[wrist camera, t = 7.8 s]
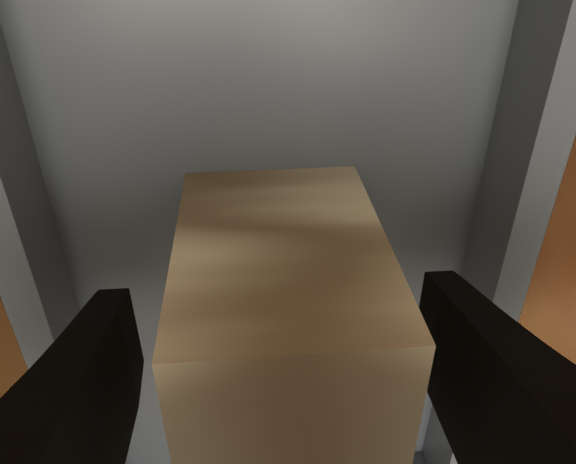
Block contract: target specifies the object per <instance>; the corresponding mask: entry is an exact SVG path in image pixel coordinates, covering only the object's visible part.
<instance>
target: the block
mask: <svg viewBox="0 0 576 464" xmlns="http://www.w3.org/2000/svg"><path fill="white" fill-rule="evenodd" d="M435 348H436V345H435V343H434V340H433V338H432V336H431V334H430V332H429V329H428V327H427V325H426V323H425V320H424V318H423V316H422V314H421V312H420V309H419V307H418V305H417V303H416V301H415V298H414V296H413V294H412V292H411V289H410V287H409V285H408V283H407V281H406V278H405V276H404V274H403V272H402V270H401V267H400V265H399V263H398V261H397V258H396V256H395V254H394V252H393V250H392V247H391V245H390V243H389V241H388V239H387V236H386V234H385V232H384V230H383V227H382V225H381V223H380V221H379V219H378V216H377V214H376V212H375V210H374V207H373V205H372V203H371V201H370V199H369V196H368V194H367V192H366V190H365V188H364V185H363V183H362V181H361V179H360V176H359V174H358V172H357V170H356V168H355V166H348V167H324V168H300V169H276V170H251V171H227V172H203V173H186V174H185V179H184V185H183V191H182V196H181V202H180V207H179V213H178V219H177V224H176V230H175V235H174V241H173V247H172V252H171V258H170V264H169V269H168V275H167V280H166V286H165V292H164V297H163V303H162V308H161V314H160V320H159V325H158V331H157V337H156V342H155V348H154V353H153V359H152V370H153V375H154V380H155V385H156V390H157V395H158V400H159V404H160V409H161V414H162V419H163V424H164V429H165V434H166V439H167V444H168V449H169V454H170V459H171V464H412V463H413V458H414V453H415V448H416V443H417V438H418V433H419V428H420V423H421V418H422V413H423V408H424V403H425V398H426V393H427V388H428V383H429V378H430V373H431V368H432V363H433V358H434V353H435Z"/></svg>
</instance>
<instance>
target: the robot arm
mask: <svg viewBox="0 0 576 464" xmlns="http://www.w3.org/2000/svg"><path fill="white" fill-rule="evenodd" d="M419 309H420V312H421V314H422V316H423V318H424V320H425V323H426V325H427V327H428V329H429V332H430V334H431V336H432V338H433V340H434V343H435V345H436V348H435V353H434V358H433V363H432V368H431V373H430V378H429V383H428V388H427V393H428V395H429V398H430V400H431V402H432V405H433V407H434V410H435V412H436V414H437V417H438V419H439V421H440V424H441V426H442V428H443V431H444V433H445V436H446V438H447V440H448V443H449V445H450V447H451V450H452V452H453V454H454V457H455V459H456V461H457V464H576V365H575V364H574V363H572V362H571V361H569V360H568V359H567V358H565V357H564V356H562V355H561V354H560V353H558V352H557V351H555V350H554V349H552V348H551V347H550V346H548V345H547V344H546V343H544V342H543V341H542V340H540V339H539V338H537V337H536V336H535V335H533V334H532V333H531V332H530V331H528V330H527V329H526V328H524V327H523V326H522V325H521V324H519V323H518V322H517V321H515V320H514V319H513V318H512V317H510V316H509V315H508V314H507V313H505V312H504V311H503V310H502V309H500V308H499V307H498V306H497V305H495V304H494V303H493V302H492V301H491V300H489V299H488V298H487V297H486V296H484V295H483V294H482V293H481V292H480V291H478V290H477V289H476V288H475V287H473V286H472V285H471V284H470V283H469V282H467V281H466V280H465V279H464V278H462V277H461V276H460V275H459V274H457V273H456V272H455V271H453V270H450V271H431V272H425V274H424V280H423V286H422V292H421V298H420V304H419ZM143 365H144V358H143V353H142V348H141V343H140V338H139V333H138V329H137V324H136V319H135V314H134V309H133V305H132V300H131V295H130V290H129V288H119V289H101V290H98V291H97V292H96V293H95V294H94V295H93V296H92V297H91V298H90V300H89V301H88V302H87V303H86V304H85V306H84V307H83V308H82V309H81V310H80V311H79V313H78V314H77V315H76V316H75V317H74V319H73V320H72V321H71V322H70V323H69V324H68V326H67V327H66V328H65V329H64V330H63V331H62V333H61V334H60V335H59V336H58V337H57V338H56V340H55V341H54V342H53V343H52V344H51V345H50V346H49V347H48V348H47V350H46V351H45V352H44V353H43V354H42V355H41V356H40V357H39V359H38V360H37V361H36V362H35V363H34V364H33V365H32V366H31V367H30V368H29V369H28V371H27V372H26V373H25V374H24V375H23V376H22V377H21V378H20V379H19V380H18V381H17V382H16V383H15V384H14V385H13V386H12V387H11V388H10V389H9V390H8V391H7V392H6V393H5V394H4V395H3V396H2V397H1V398H0V464H125V463H126V459H127V454H128V450H129V446H130V442H131V438H132V434H133V429H134V425H135V421H136V416H137V412H138V408H139V401H140V393H141V385H142V375H143Z"/></svg>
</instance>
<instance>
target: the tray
mask: <svg viewBox="0 0 576 464" xmlns="http://www.w3.org/2000/svg"><path fill="white" fill-rule="evenodd" d="M575 135H576V0H0V297H1V299H2V302H3V304H4V307H5V310H6V312H7V315H8V318H9V320H10V323H11V326H12V328H13V331H14V334H15V336H16V339H17V342H18V344H19V347H20V350H21V352H22V355H23V357H24V360H25V363H26V365H27V368H28V369H29V368H30V367H31V366H32V365H33V364H34V363H35V362H36V361H37V360H38V359H39V357H40V356H41V355H42V354H43V353H44V352H45V351H46V350H47V348H48V347H49V346H50V345H51V344H52V343H53V342H54V341H55V340H56V338H57V337H58V336H59V335H60V334H61V333H62V331H63V330H64V329H65V328H66V327H67V326H68V324H69V323H70V322H71V321H72V320H73V319H74V317H75V316H76V315H77V314H78V313H79V311H80V310H81V309H82V308H83V307H84V306H85V304H86V303H87V302H88V301H89V300H90V298H91V297H92V296H93V295H94V294H95V293H96V292H97V291H98V290H101V289H119V288H129V290H130V295H131V300H132V305H133V309H134V314H135V319H136V324H137V329H138V333H139V338H140V343H141V348H142V353H143V358H144V365H143V375H142V385H141V393H140V401H139V408H138V412H137V416H136V421H135V425H134V429H133V434H132V438H131V442H130V446H129V450H128V454H127V459H126V463H125V464H171V459H170V454H169V449H168V444H167V439H166V434H165V429H164V424H163V419H162V414H161V409H160V404H159V400H158V395H157V390H156V385H155V380H154V375H153V370H152V359H153V353H154V348H155V342H156V337H157V331H158V325H159V320H160V314H161V308H162V303H163V297H164V292H165V286H166V280H167V275H168V269H169V264H170V258H171V252H172V247H173V241H174V235H175V230H176V224H177V219H178V213H179V207H180V202H181V196H182V191H183V185H184V179H185V174H186V173H203V172H227V171H251V170H276V169H300V168H324V167H348V166H355V168H356V170H357V172H358V174H359V176H360V179H361V181H362V183H363V185H364V188H365V190H366V192H367V194H368V196H369V199H370V201H371V203H372V205H373V207H374V210H375V212H376V214H377V216H378V219H379V221H380V223H381V225H382V227H383V230H384V232H385V234H386V236H387V239H388V241H389V243H390V245H391V247H392V250H393V252H394V254H395V256H396V258H397V261H398V263H399V265H400V267H401V270H402V272H403V274H404V276H405V278H406V281H407V283H408V285H409V287H410V289H411V292H412V294H413V296H414V298H415V301H416V303H417V305H418V307H419V304H420V298H421V292H422V286H423V280H424V274H425V272H431V271H450V270H453V271H455V272H456V273H457V274H459V275H460V276H461V277H462V278H464V279H465V280H466V281H467V282H469V283H470V284H471V285H472V286H473V287H475V288H476V289H477V290H478V291H480V292H481V293H482V294H483V295H484V296H486V297H487V298H488V299H489V300H491V301H492V302H493V303H494V304H495V305H497V306H498V307H499V308H500V309H502V310H503V311H504V312H505V313H507V314H508V315H509V316H510V317H512V318H513V319H514V320H515V321H517V322H518V320H519V317H520V314H521V311H522V307H523V304H524V301H525V298H526V294H527V291H528V288H529V285H530V281H531V278H532V275H533V272H534V268H535V265H536V262H537V259H538V255H539V252H540V249H541V245H542V242H543V239H544V236H545V232H546V229H547V226H548V223H549V219H550V216H551V213H552V210H553V206H554V203H555V200H556V197H557V193H558V190H559V187H560V184H561V180H562V177H563V174H564V170H565V167H566V164H567V161H568V157H569V154H570V151H571V148H572V144H573V141H574V138H575ZM412 464H457V461H456V459H455V457H454V454H453V452H452V450H451V447H450V445H449V443H448V440H447V438H446V436H445V433H444V431H443V428H442V426H441V424H440V421H439V419H438V417H437V414H436V412H435V410H434V407H433V405H432V402H431V400H430V398H429V395H428V393H426V398H425V403H424V408H423V413H422V418H421V423H420V428H419V433H418V438H417V443H416V448H415V453H414V458H413V463H412Z"/></svg>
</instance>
